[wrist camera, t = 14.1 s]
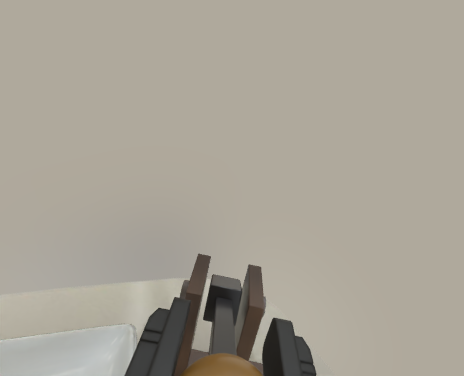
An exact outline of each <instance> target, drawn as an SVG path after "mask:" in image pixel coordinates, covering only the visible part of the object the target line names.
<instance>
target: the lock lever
mask: <svg viewBox="0 0 464 376" xmlns="http://www.w3.org/2000/svg"><path fill="white" fill-rule="evenodd" d="M241 296H242V288H241V283H240V280H238V279H233V278H228V277H224V276H219V275H214V274H213V275H212V279H211V283H210V288H209V293H208V297H207V302H206V307H205V312H204V317H203V320H205V321H210V322H212V328H211V337H210V347H209V355H208V356H205V357H203V358H200V359H199V360H197V361H195V362H194V363H192V364H191V365H190V366H189V367H187V368H186V369H185V370H184V371H183V372H182V374H181V375H180V376H263V375H262V373H261V372H260V371H259V370H258V369H257V368H256V367H255V366H254V365H252V364H251V363H250V362H248V361H247V360H245V359H243V358H241V357H239V356H237V352H236V340H235V328H234V326H235V325H236V321H237V316H238V311H239V306H240V301H241Z"/></svg>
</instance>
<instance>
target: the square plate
mask: <svg viewBox="0 0 464 376" xmlns="http://www.w3.org/2000/svg"><path fill="white" fill-rule="evenodd" d="M136 347H137V333H136V328H135V326H134V325H132V324H118V325H109V326H101V327H93V328H86V329H79V330H71V331H64V332H56V333H49V334H41V335H34V336H26V337H18V338H11V339H3V340H0V376H124V375H125V373H126V371H127V368H128V366H129V364H130V361H131V359H132V357H133V354H134V352H135V350H136Z"/></svg>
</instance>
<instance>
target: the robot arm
mask: <svg viewBox="0 0 464 376" xmlns="http://www.w3.org/2000/svg"><path fill="white" fill-rule="evenodd" d="M190 304H191V300H186V299H182V298H177V297H174V300H173V303H172V305H171V308H170V310H167V309H162V308H158V309H157V310H156V311H155V312H154V313H153V314H152V315H151V316H150V317H149V319H148V322H147V324H146V326H145V329H144V331H143V333H142V336H141V338H140V341H139V343H138V345H137V347H136V350H135V352H134V354H133V357H132V359H131V361H130V364H129V366H128V368H127V371H126V373H125V375H124V376H174V374H175V370H176V366H177V362H178V358H179V354H180V350H181V346H182V342H183V337H184V333H185V329H186V324H187V319H188V314H189V309H190ZM262 361H263V376H316V371H315V367H314V365H313V359H312V355H311V351H310V349H309V347H308V346H307V344H306V342H305V341H304V339H303V338H302V337H299V336H295V334H294V329H293V325H292V322H291V321H288V320H283V319H278V318H273V319H272V322H271V325H270V327H269V330H268V333H267V336H266V339H265V342H264V346H263V353H262Z"/></svg>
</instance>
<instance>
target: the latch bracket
mask: <svg viewBox="0 0 464 376" xmlns="http://www.w3.org/2000/svg"><path fill="white" fill-rule="evenodd" d="M210 258H211V257H210V256H207V255H202V254H198V257H197V260H196V263H195V266H194V269H193V272H192V276H191V278H190V281H188V280H185V281H184V283H183V286H182V289H181V294H180V298H182V299H186V300H191V304H190V309H189V314H188V319H187V324H186V329H185V333H184V337H183V342H182V346H181V350H180V354H179V358H178V362H177V366H176V370H175V374H174V376H180V375H181V374H182V372H183V371H184V370H185V369H186V368H187V367H189V366H190V365H191V364H192V363H194V362H195V361H197V360H199V359H200V358H203V357H205V356H208V355H209V353H208V352H203V351H198V350H193V349H192V345H193V340H194V335H195V330H196V326H197V321H198V316H199V311H200V306H201V302H202V297H203V292H204V287H205V282H206V278H207V273H208V268H209V263H210ZM265 308H266V298H265V297H264V296H263V285H262V273H261V267H259V266H253V265H248V269H247V273H246V277H245V280H244V284H243V288H242V296H241V301H240V306H239V311H238V316H237V321H236V325H235V326H234V328H235V340H236V352H237V356H239V357H241V358H243V359H245V360H247V361H248V362H250V363H251V364H252V365H254V366H255V367H256V368H257V369H258V370H259V371H260V372H261V373H262V375H263V364H261V363H256V362H251V361H249V358H250V355H251V351H252V348H253V345H254V342H255V338H256V335H257V332H258V329H259V325H260V322H261V319H262V317H263V316H264V313H265Z"/></svg>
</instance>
